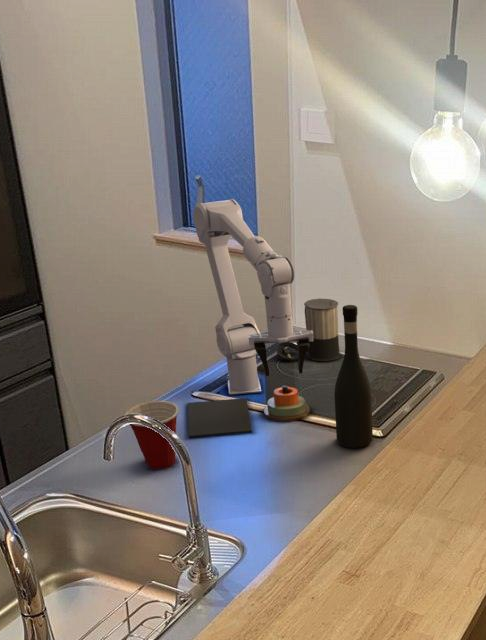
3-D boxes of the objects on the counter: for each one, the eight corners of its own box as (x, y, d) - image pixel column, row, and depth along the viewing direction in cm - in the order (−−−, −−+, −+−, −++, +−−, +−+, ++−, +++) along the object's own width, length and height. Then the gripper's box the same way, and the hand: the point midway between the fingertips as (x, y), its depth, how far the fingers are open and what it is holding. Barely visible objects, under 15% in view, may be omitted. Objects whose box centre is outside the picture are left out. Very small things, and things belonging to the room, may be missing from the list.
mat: (188, 405, 208) (188, 402, 208) (246, 400, 211) (246, 398, 210) (189, 438, 192) (188, 435, 191) (252, 432, 194) (251, 430, 194)
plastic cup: (123, 470, 178) (112, 416, 172) (154, 449, 187) (145, 397, 180) (166, 479, 175) (157, 424, 168) (196, 457, 183) (188, 405, 177)
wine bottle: (333, 436, 192) (326, 302, 176) (367, 432, 194) (363, 299, 178) (341, 451, 186) (335, 313, 170) (376, 446, 188) (373, 310, 172)
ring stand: (262, 405, 208) (259, 379, 204) (307, 402, 210) (305, 376, 206) (265, 423, 199) (263, 396, 195) (313, 419, 201) (311, 392, 197)
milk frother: (347, 356, 238) (345, 302, 230) (304, 370, 228) (300, 315, 220) (314, 345, 246) (310, 292, 238) (270, 358, 236) (265, 304, 228)
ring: (273, 398, 204) (272, 387, 203) (296, 396, 205) (296, 386, 204) (275, 407, 200) (274, 396, 198) (299, 405, 201) (298, 394, 199)
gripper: (247, 321, 187) (253, 381, 194) (313, 317, 189) (317, 376, 197) (245, 312, 192) (251, 370, 200) (309, 308, 195) (313, 366, 203)
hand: (283, 373), depth 199 cm, fingers open, 7 cm apart
